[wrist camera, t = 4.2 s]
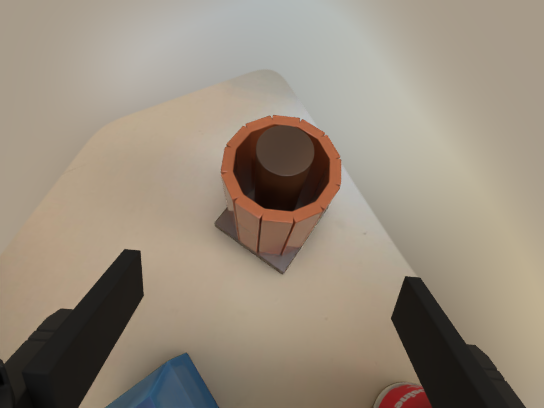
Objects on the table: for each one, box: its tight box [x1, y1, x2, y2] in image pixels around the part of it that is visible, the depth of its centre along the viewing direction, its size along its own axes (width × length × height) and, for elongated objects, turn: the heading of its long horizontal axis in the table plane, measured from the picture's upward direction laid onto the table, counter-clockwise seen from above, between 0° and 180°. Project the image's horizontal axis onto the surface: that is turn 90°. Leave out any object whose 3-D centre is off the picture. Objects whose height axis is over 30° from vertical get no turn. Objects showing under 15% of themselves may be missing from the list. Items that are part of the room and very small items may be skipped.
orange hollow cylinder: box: [221, 115, 341, 256], centre depth 25 cm, size 8×8×10 cm
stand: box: [214, 125, 328, 274], centre depth 25 cm, size 8×8×13 cm
